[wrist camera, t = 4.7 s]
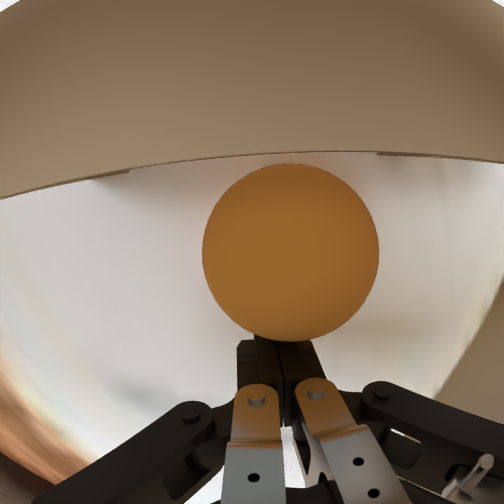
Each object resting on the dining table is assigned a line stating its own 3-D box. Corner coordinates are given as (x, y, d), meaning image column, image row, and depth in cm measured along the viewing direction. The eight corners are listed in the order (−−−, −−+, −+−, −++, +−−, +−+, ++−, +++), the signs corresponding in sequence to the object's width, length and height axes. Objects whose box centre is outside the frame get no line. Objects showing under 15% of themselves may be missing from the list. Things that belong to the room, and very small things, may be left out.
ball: (211, 387, 8) (212, 146, 6) (198, 306, 13) (199, 166, 12) (397, 359, 9) (423, 171, 8) (324, 300, 15) (333, 174, 13)
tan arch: (412, 156, 13) (591, 180, 3) (89, 179, 12) (-90, 230, 3) (408, 96, 12) (579, 64, 2) (84, 115, 11) (-92, 89, 2)
